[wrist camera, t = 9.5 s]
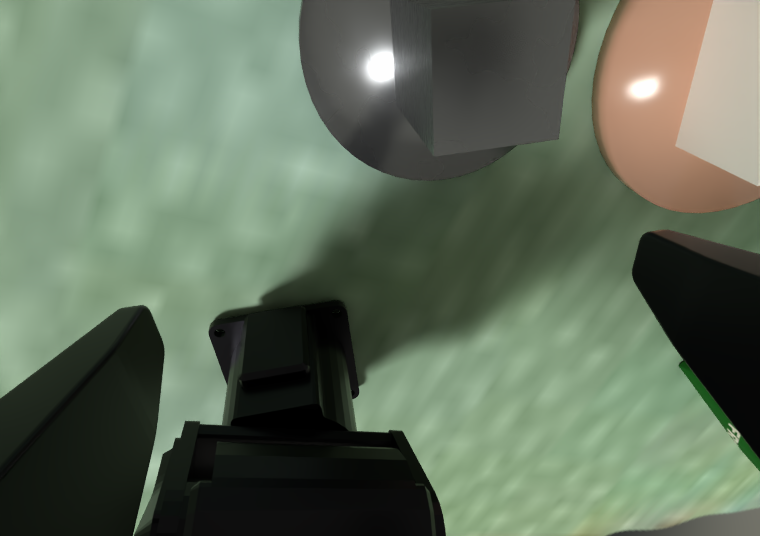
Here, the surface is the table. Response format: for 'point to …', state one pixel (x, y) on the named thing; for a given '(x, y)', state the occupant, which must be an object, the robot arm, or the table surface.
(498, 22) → the grey rounded piece
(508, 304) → the table surface
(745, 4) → the cream colored cube
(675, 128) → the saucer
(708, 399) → the milk carton
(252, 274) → the table surface
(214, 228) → the table surface
